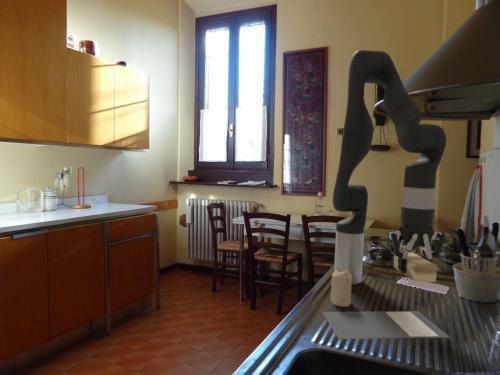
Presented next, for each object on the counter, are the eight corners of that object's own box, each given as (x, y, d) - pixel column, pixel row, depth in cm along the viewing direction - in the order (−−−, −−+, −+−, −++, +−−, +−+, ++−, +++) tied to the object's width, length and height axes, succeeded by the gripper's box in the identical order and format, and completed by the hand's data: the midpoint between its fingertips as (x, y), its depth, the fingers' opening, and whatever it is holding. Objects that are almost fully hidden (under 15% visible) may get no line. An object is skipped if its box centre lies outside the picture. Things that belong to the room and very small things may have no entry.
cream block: (435, 281, 83) (437, 265, 82) (415, 281, 82) (416, 265, 82) (411, 266, 94) (412, 252, 93) (393, 266, 93) (394, 252, 93)
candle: (327, 303, 101) (328, 270, 101) (337, 298, 105) (338, 266, 104) (344, 309, 98) (345, 275, 97) (353, 304, 101) (355, 270, 101)
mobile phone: (446, 292, 110) (396, 281, 119) (446, 295, 111) (396, 284, 119) (449, 285, 117) (401, 275, 125) (449, 288, 117) (401, 278, 125)
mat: (322, 313, 95) (322, 311, 95) (418, 312, 97) (418, 310, 97) (338, 340, 81) (338, 338, 81) (450, 339, 83) (450, 337, 83)
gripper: (397, 207, 82) (392, 277, 84) (455, 208, 83) (450, 277, 85) (383, 203, 90) (379, 267, 91) (436, 204, 91) (432, 267, 92)
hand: (413, 272), depth 88 cm, fingers closed on cream block, 5 cm apart
